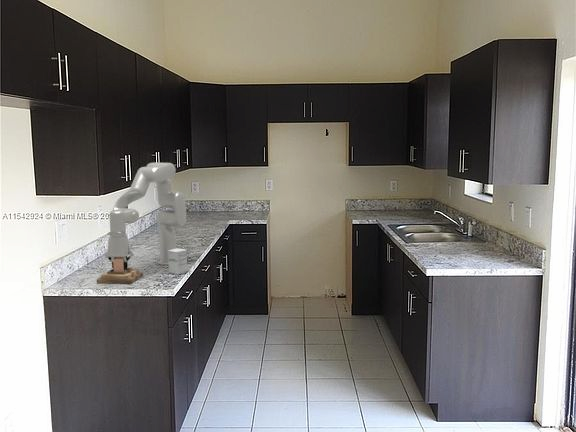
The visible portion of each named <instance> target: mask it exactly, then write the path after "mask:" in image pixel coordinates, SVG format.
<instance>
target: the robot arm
mask: <svg viewBox="0 0 576 432" xmlns="http://www.w3.org/2000/svg"><path fill="white" fill-rule="evenodd" d="M175 174H176V166H175V165H174V164H173V163H171V162H149V163H148V164H146V166H142V167H140V168H139V169H137V172H136V173H135V175H134V178H133V181H132V183H131V185H130V188H129V189H128V190H127V191H125V192H124V193H123V194H122V195H121V196H120V197H119V198H118V199H117V200H116V202H115V204H114V206H113V207H112V210H111V211H109V215H108V216H109V231H108V232H107V236H110V237H108V242H107V243H108V244H107V252H106V253H105V254H104V257H105V258H107V259H108V260H109V261H110V262H111V268H112V269H113V270H114V268H113V259H114V258H115V257H123V258H124V270H126V269H127V268H129V265H128V261H129V260H130V259H132V257H134V255H135V254H134V253H133V251H131V249H130V243H129V239H128V236H127V232H126V231H127V229H126V225H127V224H134V223H136V222H137V221H138V220H139V218H140V215H139V211H138V210H136V209H135V208H127V207H128V206H129V205H130V204H131V203H133V202H136V201H138V200H141V199H143V198H144V197H145V196H146V193H147V191H148V189H149V186H150V184H151V183H155V184H156V194H157V203H158V206H160V207H161V208H170V209H161V210H159V211H158V212H157V214H156V223H157V226H158V235H159V236H158V238H159V239H158V241H159V260H158V261H157V264H158V265H161V266H169V262H168V250H172V249H176V248H177V235H176V230H175V228H176V227H178V228H179V227H183V226H184V225H186V223H187V204H186V197H185V195H184V193H182V192H181V191H174V190H173V186H172V184H173V183H172V180H171V179H172V178H173V177H174V176H175ZM174 227H175V228H174Z"/></svg>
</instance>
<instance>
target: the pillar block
mask: <svg viewBox="0 0 576 432" xmlns="http://www.w3.org/2000/svg"><path fill="white" fill-rule="evenodd" d="M113 268H114V272H124V271H125V270H124V258H123V257H115V258H114V259H113ZM113 268H112V269H113Z"/></svg>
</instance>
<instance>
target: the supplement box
mask: <svg viewBox="0 0 576 432" xmlns="http://www.w3.org/2000/svg"><path fill="white" fill-rule="evenodd" d="M187 252H188V250H187V249H185V248H184V249H182V248H177V247H176V249H172V250H168V262H169V265H168V273H169V274H176V275H181V274H185V273H187V272H188V253H187Z"/></svg>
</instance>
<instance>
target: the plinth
mask: <svg viewBox="0 0 576 432" xmlns="http://www.w3.org/2000/svg"><path fill="white" fill-rule="evenodd" d="M143 277H144V272H139V269H138V268H133V267H127V269H126V270H125V271H124V272H114V270H113V268H112V269H110V270H108V271H106V272H104V273H102V274H100V277H98V278H96V284H102V285H103V284H104V285H106V284H107V285H108V284H109V285H114V284H115V285H132V284H134V283H135V282H137V281H139V280H140V279H141V278H143Z"/></svg>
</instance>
